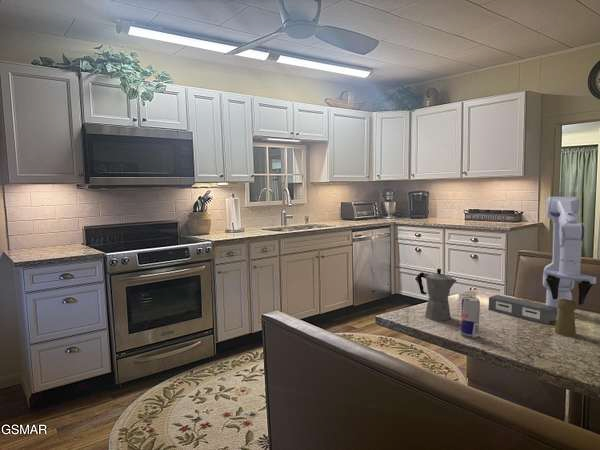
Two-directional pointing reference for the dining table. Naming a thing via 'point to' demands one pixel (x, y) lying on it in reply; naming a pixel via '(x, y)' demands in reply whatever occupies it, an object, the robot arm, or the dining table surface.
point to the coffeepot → (437, 294)
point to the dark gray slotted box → (523, 309)
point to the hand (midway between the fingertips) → (567, 301)
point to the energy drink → (470, 317)
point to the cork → (566, 318)
